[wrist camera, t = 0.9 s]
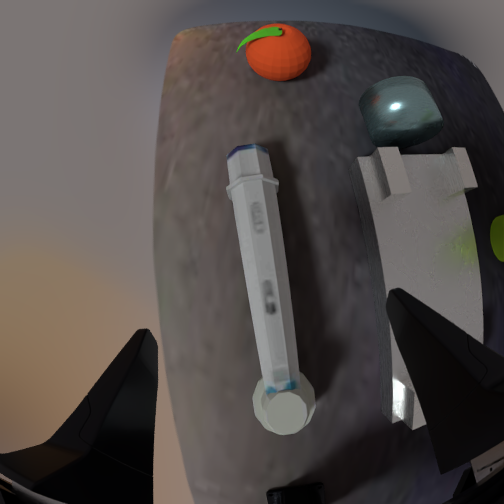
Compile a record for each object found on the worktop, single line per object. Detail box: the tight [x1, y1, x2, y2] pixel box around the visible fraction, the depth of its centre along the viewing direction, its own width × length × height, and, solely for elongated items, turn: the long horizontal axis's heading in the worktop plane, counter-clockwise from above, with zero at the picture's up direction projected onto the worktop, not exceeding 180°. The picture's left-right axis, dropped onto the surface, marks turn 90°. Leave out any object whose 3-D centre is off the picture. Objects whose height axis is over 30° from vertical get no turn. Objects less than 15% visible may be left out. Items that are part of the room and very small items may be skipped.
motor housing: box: [348, 76, 483, 430], centre depth 20 cm, size 31×12×8 cm, turn 9°
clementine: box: [236, 24, 311, 81], centre depth 24 cm, size 8×7×7 cm
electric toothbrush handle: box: [226, 144, 316, 435], centre depth 23 cm, size 5×7×25 cm
